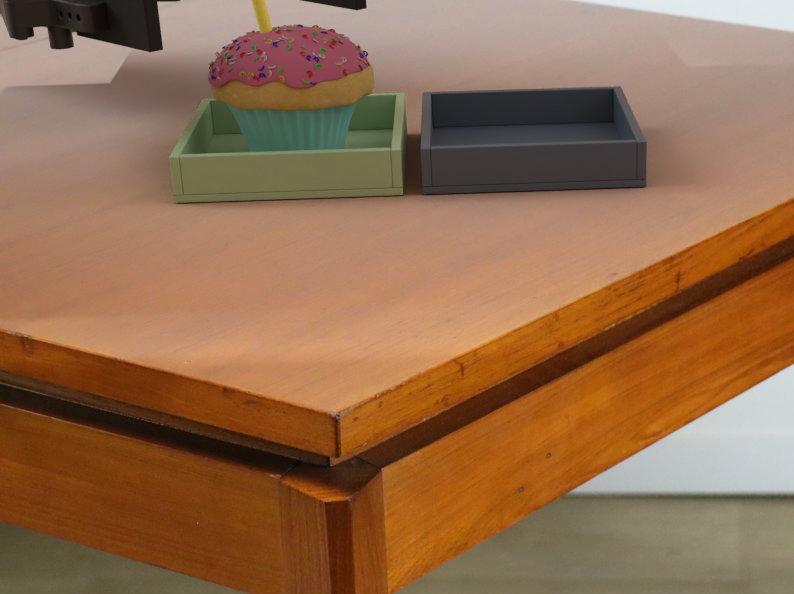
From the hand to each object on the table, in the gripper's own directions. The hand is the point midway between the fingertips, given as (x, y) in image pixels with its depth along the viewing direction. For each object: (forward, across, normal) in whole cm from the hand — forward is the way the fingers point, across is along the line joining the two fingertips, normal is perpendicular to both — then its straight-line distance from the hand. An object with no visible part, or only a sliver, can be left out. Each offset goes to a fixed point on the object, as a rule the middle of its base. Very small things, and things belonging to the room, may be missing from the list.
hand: (263, 3), depth 80 cm
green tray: (+2, 0, -9) cm, 9 cm away
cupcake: (+2, 0, -8) cm, 8 cm away
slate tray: (+10, -9, -9) cm, 16 cm away
